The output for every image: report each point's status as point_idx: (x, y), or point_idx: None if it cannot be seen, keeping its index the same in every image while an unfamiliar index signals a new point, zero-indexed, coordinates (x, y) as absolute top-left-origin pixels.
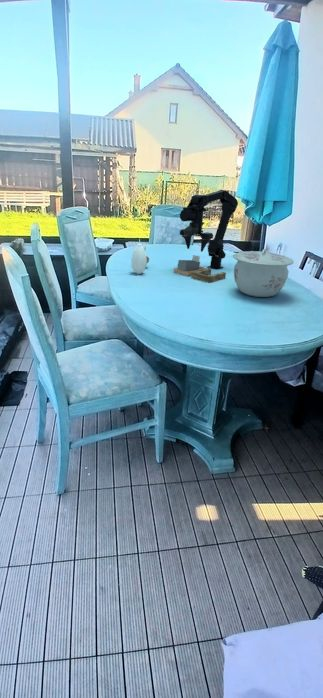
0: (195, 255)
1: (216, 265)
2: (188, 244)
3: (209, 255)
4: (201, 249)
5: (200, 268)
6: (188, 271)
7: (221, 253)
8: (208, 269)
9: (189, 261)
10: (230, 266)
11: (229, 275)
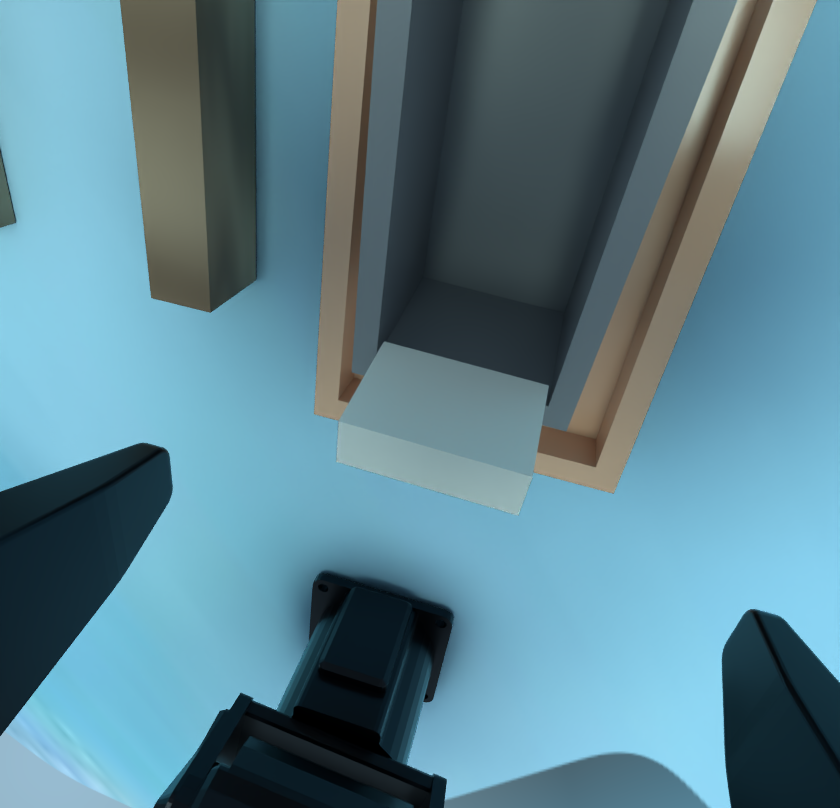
0: (475, 497)
1: (328, 625)
2: (796, 798)
3: (432, 782)
4: (85, 474)
5: None
6: None
7: (181, 773)
8: (164, 246)
9: (582, 299)
10: None
11: (56, 394)
